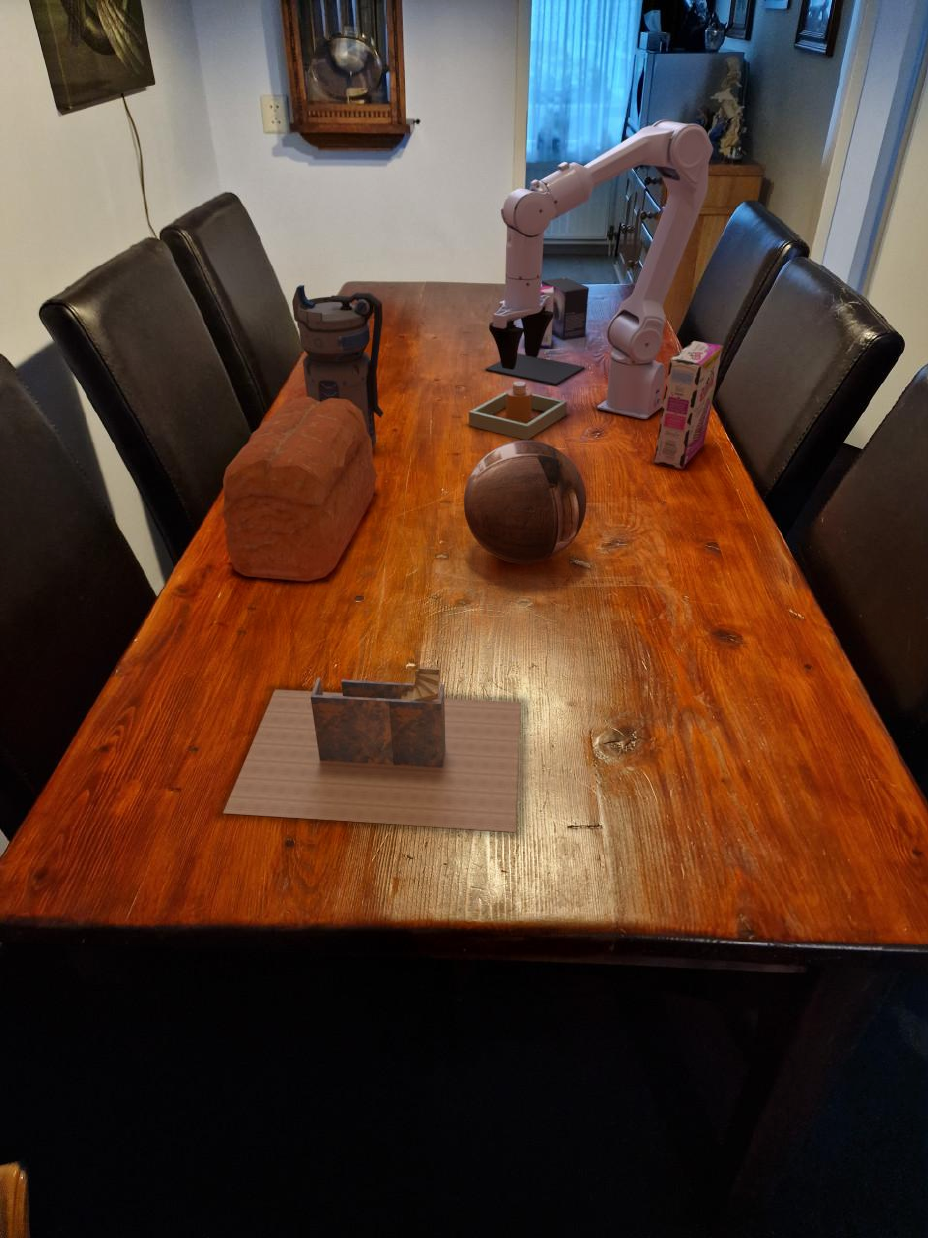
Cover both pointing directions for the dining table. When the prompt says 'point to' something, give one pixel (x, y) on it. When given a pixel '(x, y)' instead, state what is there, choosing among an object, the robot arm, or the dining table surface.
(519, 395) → the bottle
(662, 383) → the robot arm
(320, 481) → the bread
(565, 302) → the small box
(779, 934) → the dining table surface
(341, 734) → the architectural model on board
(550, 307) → the supplement box
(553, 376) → the mat
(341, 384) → the grenade canister
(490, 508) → the wooden sphere
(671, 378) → the candy bar box
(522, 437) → the square frame
